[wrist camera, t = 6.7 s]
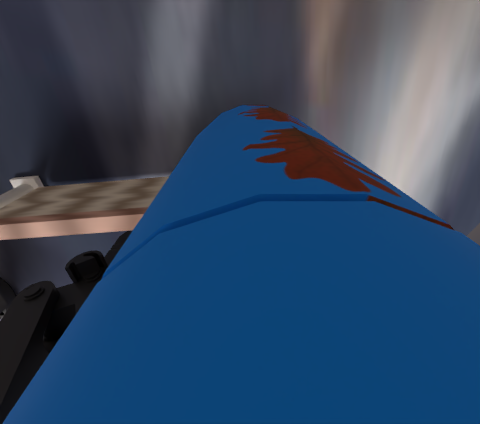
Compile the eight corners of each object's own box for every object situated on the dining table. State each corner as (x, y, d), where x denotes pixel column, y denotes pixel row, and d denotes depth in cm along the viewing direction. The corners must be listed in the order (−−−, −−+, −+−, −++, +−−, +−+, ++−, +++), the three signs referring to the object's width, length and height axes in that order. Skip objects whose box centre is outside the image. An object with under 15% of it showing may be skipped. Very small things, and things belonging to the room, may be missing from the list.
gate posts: (27, 199, 40) (-83, 264, 26) (14, 177, 38) (-113, 235, 24) (216, 184, 39) (204, 243, 25) (212, 161, 37) (198, 211, 23)
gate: (43, 196, 38) (-31, 242, 28) (37, 184, 37) (-43, 228, 27) (189, 184, 38) (170, 227, 27) (187, 172, 37) (166, 212, 26)
